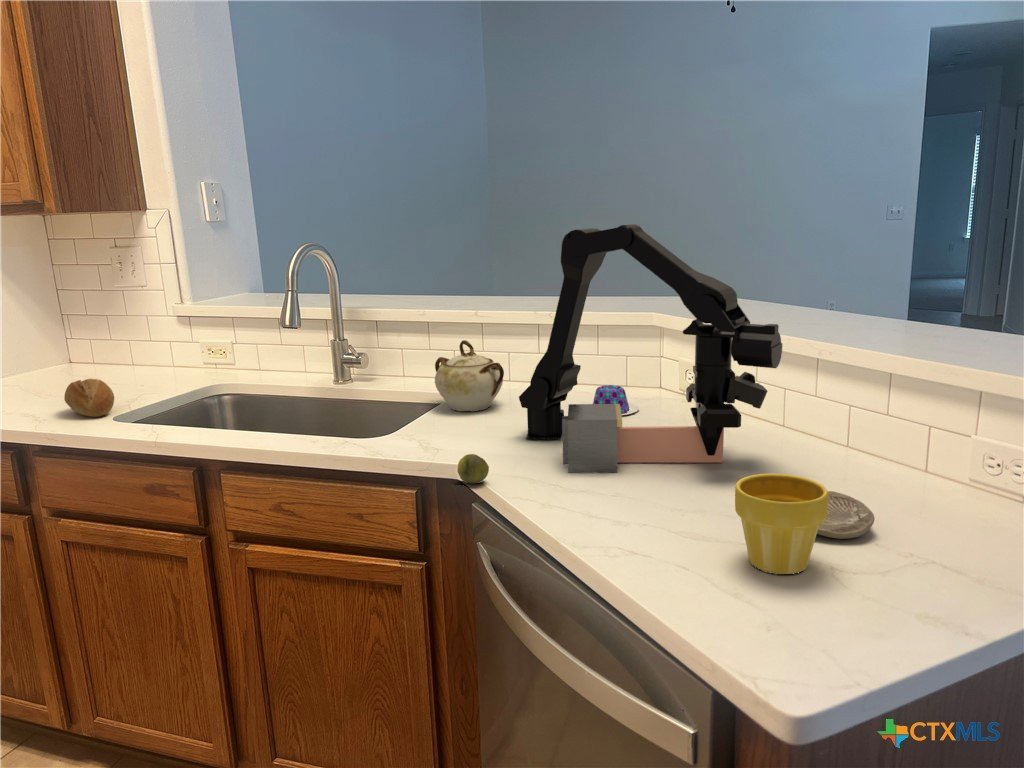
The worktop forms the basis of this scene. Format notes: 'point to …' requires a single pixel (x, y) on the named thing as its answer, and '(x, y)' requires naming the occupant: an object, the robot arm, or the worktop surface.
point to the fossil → (845, 517)
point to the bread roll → (89, 397)
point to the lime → (472, 469)
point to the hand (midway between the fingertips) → (710, 453)
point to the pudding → (614, 398)
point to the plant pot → (780, 519)
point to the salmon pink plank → (664, 445)
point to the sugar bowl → (468, 380)
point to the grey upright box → (591, 438)
